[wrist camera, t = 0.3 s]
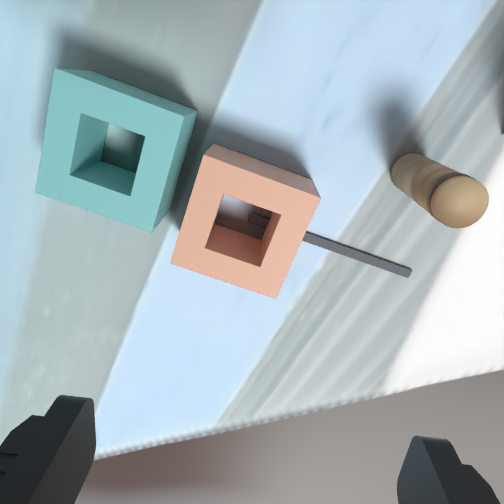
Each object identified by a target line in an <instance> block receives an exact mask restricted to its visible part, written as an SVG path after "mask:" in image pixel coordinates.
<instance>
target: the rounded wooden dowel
mask: <svg viewBox="0 0 504 504" xmlns="http://www.w3.org/2000/svg"><path fill="white" fill-rule="evenodd" d="M391 179H392V182H393V183H394V185H395V186H396V187H397V188H399V189H400V190H401V191H403V192H404V193H405V194H406V195H408V196H409V197H410V198H411V199H413V200H414V201H415V202H416V203H418V204H419V205H420V206H421V207H423V208H424V209H425V210H426V211H428V212H429V213H430V214H431V215H432V216H433V217H434V218H435V219H437V220H438V221H439V222H441V223H443V224H444V225H446V226H448V227H451V228H464V227H467V226H470V225H472V224H474V223H475V222H477V221H478V220H479V219H480V218H481V217H482V216H483V214H484V213H485V211H486V209H487V207H488V202H489V196H488V192H487V190H486V188H485V186H484V185H483V184H482V183H480V182H479V181H477V180H475V179H474V178H472V177H470V176H468V175H466V174H463V173H459V172H457V171H455V170H453V169H450V168H448V167H446V166H444V165H442V164H440V163H437V162H435V161H433V160H431V159H429V158H427V157H424V156H422V155H420V154H417V153H408V154H405V155H403V156H401V157H399V158H398V159H397V160H396V161H395V163H394V164H393V166H392V169H391Z"/></svg>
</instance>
